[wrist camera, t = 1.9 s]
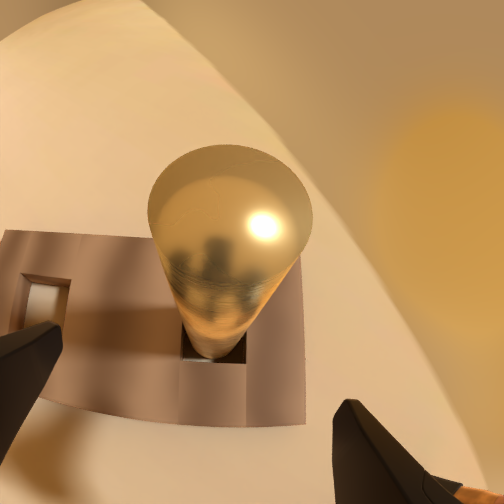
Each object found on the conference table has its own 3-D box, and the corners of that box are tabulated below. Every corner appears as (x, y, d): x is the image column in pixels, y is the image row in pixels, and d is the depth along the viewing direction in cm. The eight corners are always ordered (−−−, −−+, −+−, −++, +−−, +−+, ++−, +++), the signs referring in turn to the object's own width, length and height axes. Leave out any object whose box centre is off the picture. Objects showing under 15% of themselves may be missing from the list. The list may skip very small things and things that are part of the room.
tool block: (292, 259, 23) (299, 248, 21) (296, 421, 18) (305, 424, 16) (16, 240, 20) (5, 229, 18) (-10, 375, 15) (-24, 373, 13)
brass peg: (219, 368, 19) (255, 321, 5) (180, 340, 19) (114, 217, 5) (245, 330, 20) (337, 195, 6) (207, 304, 20) (216, 125, 6)
